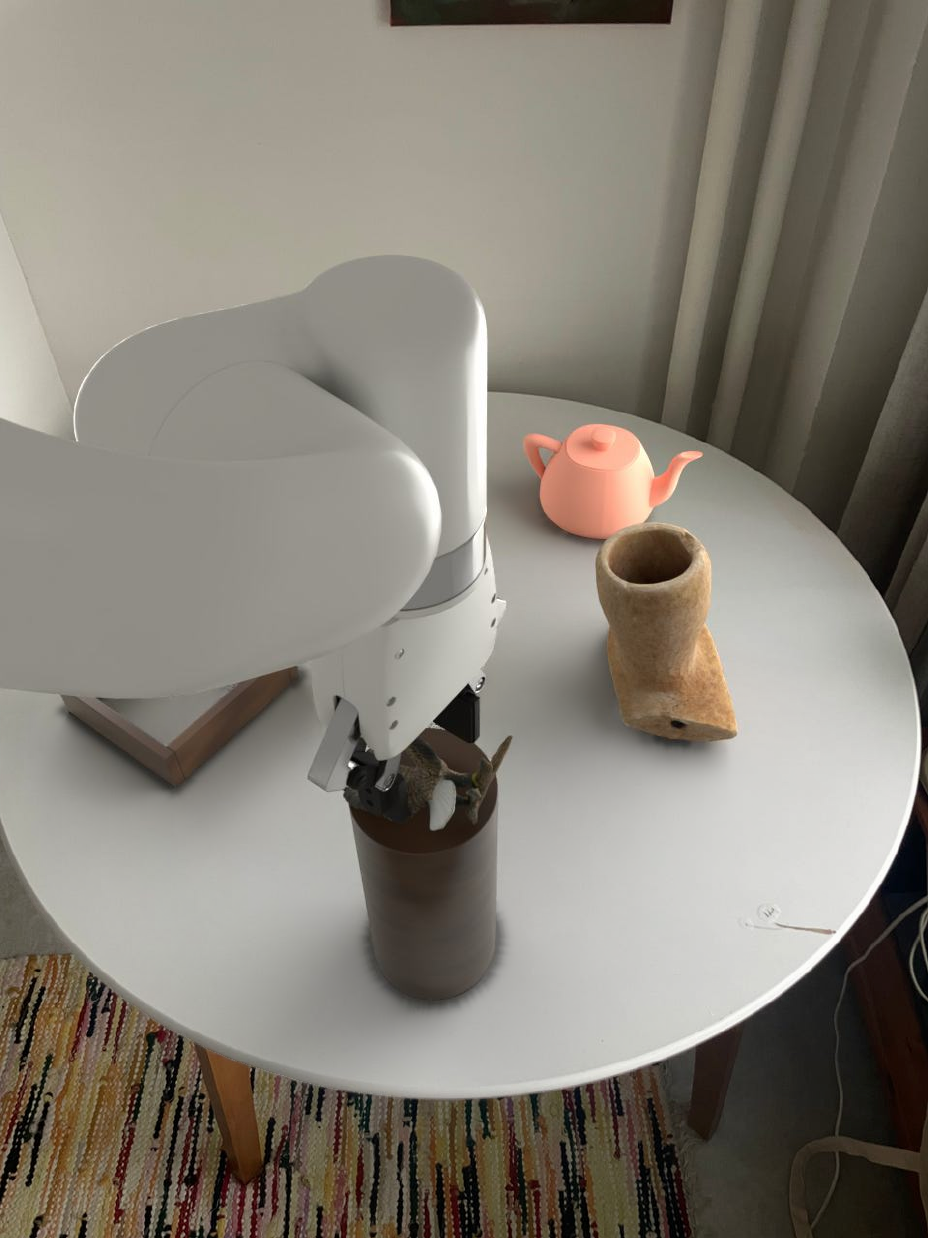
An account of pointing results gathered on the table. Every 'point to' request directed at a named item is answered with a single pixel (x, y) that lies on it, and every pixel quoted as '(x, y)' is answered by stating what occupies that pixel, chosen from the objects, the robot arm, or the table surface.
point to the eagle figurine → (440, 784)
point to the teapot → (600, 479)
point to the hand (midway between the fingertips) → (420, 766)
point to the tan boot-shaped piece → (663, 633)
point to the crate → (197, 737)
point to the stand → (432, 885)
